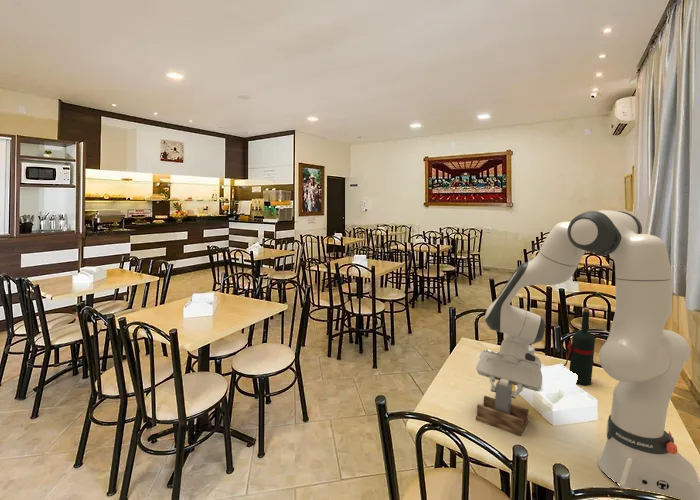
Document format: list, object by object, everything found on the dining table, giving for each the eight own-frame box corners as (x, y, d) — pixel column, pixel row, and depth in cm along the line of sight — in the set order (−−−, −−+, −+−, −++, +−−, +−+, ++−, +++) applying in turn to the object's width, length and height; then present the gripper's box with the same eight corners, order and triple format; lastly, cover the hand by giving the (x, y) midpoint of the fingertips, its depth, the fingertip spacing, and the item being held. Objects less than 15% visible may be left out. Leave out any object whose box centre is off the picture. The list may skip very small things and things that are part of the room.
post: (510, 416, 122) (512, 379, 120) (506, 422, 119) (509, 384, 117) (497, 412, 125) (499, 376, 123) (494, 418, 122) (496, 381, 120)
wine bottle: (560, 373, 154) (566, 304, 150) (588, 378, 150) (595, 306, 146) (563, 382, 147) (570, 309, 142) (593, 387, 143) (601, 312, 139)
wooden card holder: (528, 420, 122) (529, 408, 121) (520, 436, 114) (521, 422, 113) (485, 406, 130) (485, 394, 130) (475, 419, 122) (476, 407, 122)
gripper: (480, 344, 131) (469, 381, 124) (544, 359, 118) (535, 401, 112) (483, 352, 135) (473, 388, 129) (546, 367, 122) (538, 408, 116)
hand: (503, 394), depth 120 cm, fingers open, 5 cm apart
